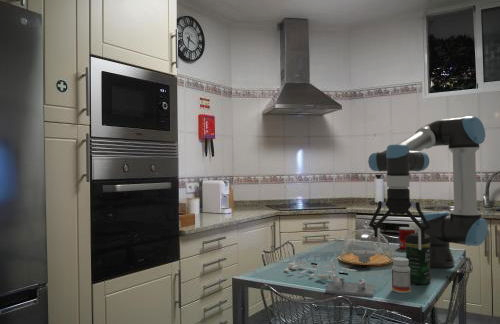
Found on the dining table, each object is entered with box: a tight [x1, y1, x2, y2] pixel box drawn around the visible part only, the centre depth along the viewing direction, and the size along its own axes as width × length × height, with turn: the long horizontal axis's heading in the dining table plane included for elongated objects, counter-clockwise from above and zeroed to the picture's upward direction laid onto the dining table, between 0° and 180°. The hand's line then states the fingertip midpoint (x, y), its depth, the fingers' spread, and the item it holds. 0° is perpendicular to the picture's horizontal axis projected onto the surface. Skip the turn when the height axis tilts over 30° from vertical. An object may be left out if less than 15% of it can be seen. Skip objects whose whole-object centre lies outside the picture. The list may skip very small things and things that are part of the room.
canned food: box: [398, 226, 416, 251], centre depth 217 cm, size 8×8×11 cm
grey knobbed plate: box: [325, 276, 376, 298], centre depth 144 cm, size 16×12×4 cm
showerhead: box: [352, 248, 376, 264], centre depth 179 cm, size 9×7×10 cm
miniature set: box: [283, 258, 358, 281], centre depth 164 cm, size 6×35×12 cm
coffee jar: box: [405, 232, 432, 285], centre depth 153 cm, size 10×8×19 cm
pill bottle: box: [391, 256, 412, 294], centre depth 142 cm, size 6×6×11 cm
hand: (399, 248), depth 142 cm, fingers open, 13 cm apart
